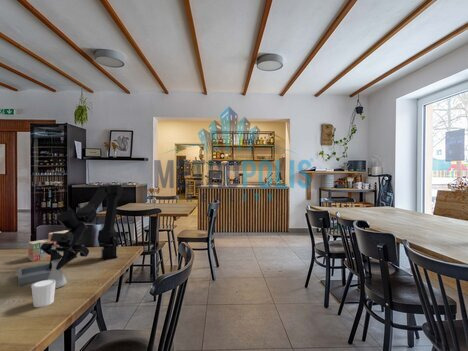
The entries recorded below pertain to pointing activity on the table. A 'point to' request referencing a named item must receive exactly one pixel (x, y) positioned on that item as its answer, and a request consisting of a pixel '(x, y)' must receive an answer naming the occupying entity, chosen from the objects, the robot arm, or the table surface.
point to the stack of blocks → (38, 253)
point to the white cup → (43, 292)
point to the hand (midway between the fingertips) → (53, 269)
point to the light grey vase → (57, 275)
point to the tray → (33, 274)
